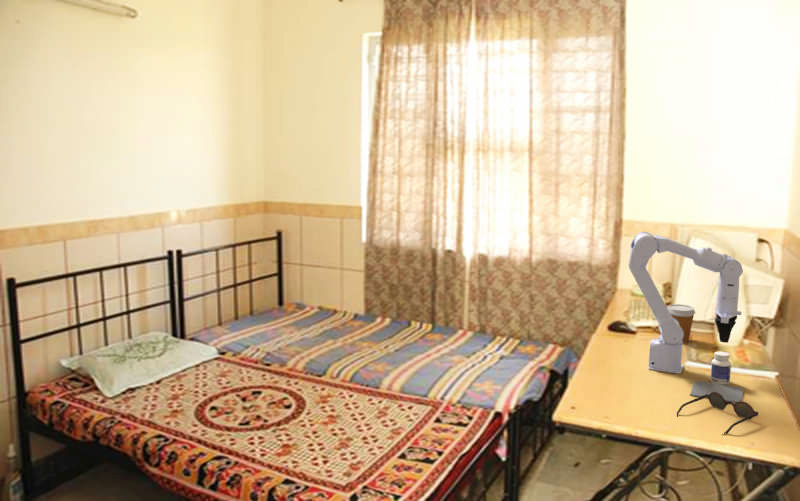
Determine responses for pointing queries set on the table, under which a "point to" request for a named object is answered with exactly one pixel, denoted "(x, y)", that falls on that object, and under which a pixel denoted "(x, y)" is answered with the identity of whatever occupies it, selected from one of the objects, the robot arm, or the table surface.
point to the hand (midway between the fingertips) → (724, 339)
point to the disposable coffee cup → (683, 318)
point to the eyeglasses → (720, 403)
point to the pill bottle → (720, 368)
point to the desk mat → (717, 390)
